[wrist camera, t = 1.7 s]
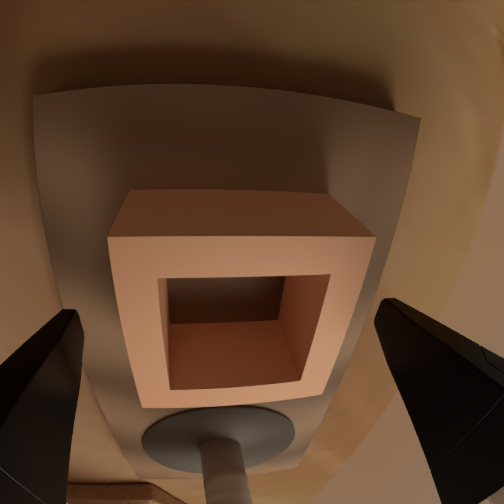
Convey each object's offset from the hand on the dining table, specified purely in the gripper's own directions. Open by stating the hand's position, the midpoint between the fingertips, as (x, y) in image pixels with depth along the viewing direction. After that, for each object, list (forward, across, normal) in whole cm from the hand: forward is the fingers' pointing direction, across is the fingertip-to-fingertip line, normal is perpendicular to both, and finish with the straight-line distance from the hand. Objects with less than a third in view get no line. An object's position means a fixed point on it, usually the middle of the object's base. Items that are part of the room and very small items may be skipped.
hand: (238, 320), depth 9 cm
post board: (+4, 0, +6) cm, 7 cm away
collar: (+2, 0, 0) cm, 2 cm away
